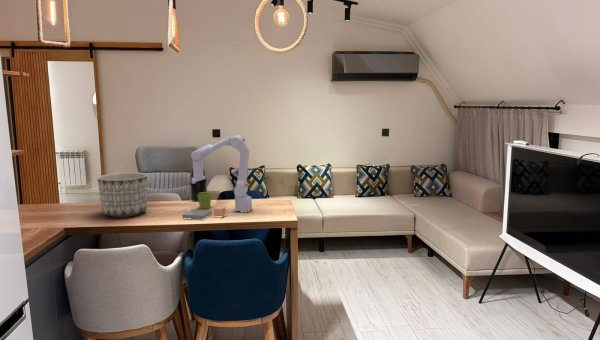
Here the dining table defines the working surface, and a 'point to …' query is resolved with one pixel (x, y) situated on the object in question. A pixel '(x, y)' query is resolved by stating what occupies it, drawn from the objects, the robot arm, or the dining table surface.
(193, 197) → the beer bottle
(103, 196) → the planter
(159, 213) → the dining table surface
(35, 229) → the dining table surface
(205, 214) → the slate plinth
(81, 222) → the dining table surface
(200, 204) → the plant pot
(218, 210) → the terracotta cube
